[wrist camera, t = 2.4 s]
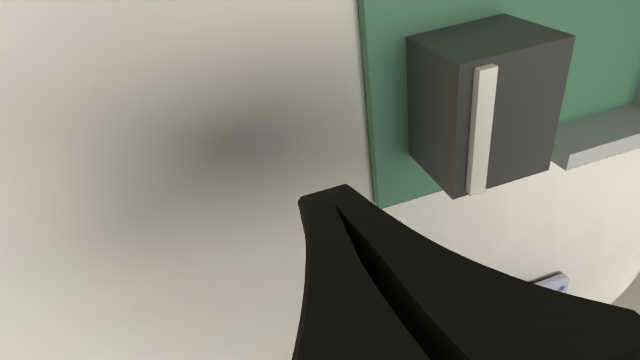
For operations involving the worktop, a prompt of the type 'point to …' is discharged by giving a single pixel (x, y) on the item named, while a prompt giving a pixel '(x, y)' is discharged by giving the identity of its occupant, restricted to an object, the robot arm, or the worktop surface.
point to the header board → (579, 98)
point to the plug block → (485, 100)
